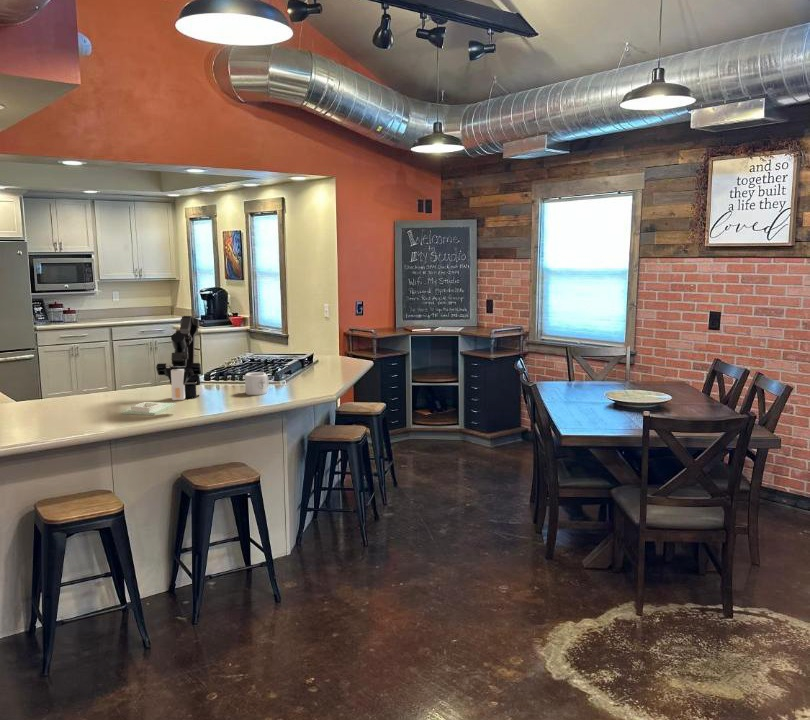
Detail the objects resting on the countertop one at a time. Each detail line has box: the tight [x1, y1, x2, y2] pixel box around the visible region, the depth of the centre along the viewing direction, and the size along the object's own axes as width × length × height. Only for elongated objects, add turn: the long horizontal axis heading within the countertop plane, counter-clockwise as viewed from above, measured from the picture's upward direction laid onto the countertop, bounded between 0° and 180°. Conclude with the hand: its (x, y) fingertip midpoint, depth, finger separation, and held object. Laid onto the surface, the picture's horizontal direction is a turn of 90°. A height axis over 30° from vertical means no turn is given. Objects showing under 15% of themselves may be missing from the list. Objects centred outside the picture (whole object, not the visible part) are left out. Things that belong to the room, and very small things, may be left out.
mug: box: [244, 371, 269, 396], centre depth 347 cm, size 14×11×10 cm
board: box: [121, 401, 176, 416], centre depth 309 cm, size 20×15×1 cm
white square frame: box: [130, 401, 163, 412], centre depth 305 cm, size 10×10×2 cm
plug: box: [170, 369, 186, 401], centre depth 301 cm, size 5×5×13 cm
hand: (177, 384), depth 300 cm, fingers closed on plug, 5 cm apart
